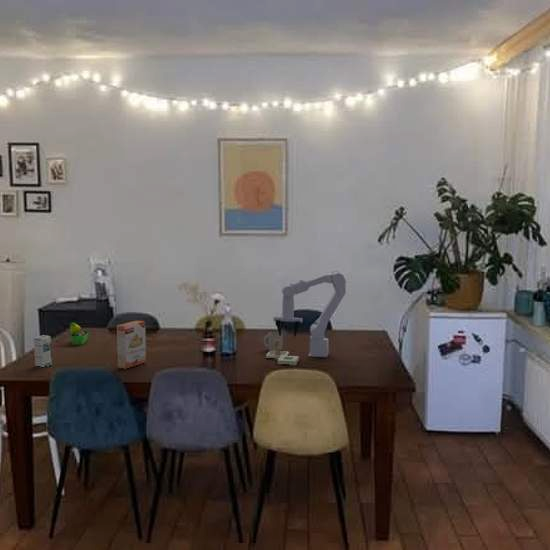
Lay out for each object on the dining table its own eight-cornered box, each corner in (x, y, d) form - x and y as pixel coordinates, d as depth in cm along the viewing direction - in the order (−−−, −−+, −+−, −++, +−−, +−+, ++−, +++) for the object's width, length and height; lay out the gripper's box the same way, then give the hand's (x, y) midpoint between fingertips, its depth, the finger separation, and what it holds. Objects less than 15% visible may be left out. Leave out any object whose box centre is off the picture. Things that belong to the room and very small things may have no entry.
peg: (281, 355, 346) (281, 340, 345) (278, 356, 343) (278, 341, 342) (276, 354, 347) (276, 339, 346) (273, 356, 345) (273, 340, 344)
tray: (289, 355, 349) (289, 351, 349) (285, 359, 340) (285, 356, 340) (269, 354, 351) (269, 350, 351) (266, 358, 342) (266, 355, 342)
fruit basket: (83, 345, 371) (83, 324, 369) (67, 345, 371) (66, 324, 370) (90, 340, 382) (89, 320, 381) (74, 340, 382) (73, 320, 381)
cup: (281, 352, 355) (281, 335, 353) (262, 351, 357) (262, 334, 355) (283, 348, 362) (283, 332, 360) (265, 347, 364) (265, 331, 362)
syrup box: (43, 368, 327) (42, 338, 325) (34, 366, 330) (33, 337, 328) (52, 365, 332) (51, 335, 330) (44, 363, 335) (42, 334, 333)
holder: (298, 360, 339) (298, 356, 339) (295, 365, 330) (295, 361, 330) (280, 359, 341) (280, 355, 340) (277, 364, 332) (277, 360, 332)
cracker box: (126, 370, 323) (125, 326, 320) (117, 368, 327) (115, 325, 324) (147, 363, 335) (145, 321, 332) (137, 361, 338) (136, 319, 335)
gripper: (303, 308, 347) (303, 334, 349) (275, 307, 349) (275, 333, 351) (301, 311, 340) (301, 337, 342) (272, 309, 342) (272, 336, 344)
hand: (287, 335), depth 346 cm, fingers open, 7 cm apart
